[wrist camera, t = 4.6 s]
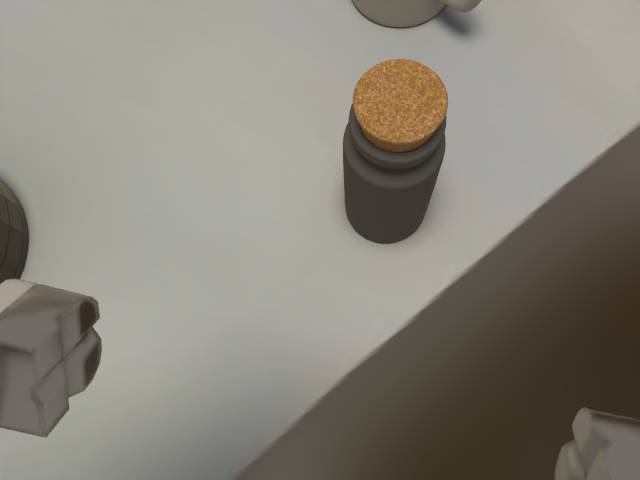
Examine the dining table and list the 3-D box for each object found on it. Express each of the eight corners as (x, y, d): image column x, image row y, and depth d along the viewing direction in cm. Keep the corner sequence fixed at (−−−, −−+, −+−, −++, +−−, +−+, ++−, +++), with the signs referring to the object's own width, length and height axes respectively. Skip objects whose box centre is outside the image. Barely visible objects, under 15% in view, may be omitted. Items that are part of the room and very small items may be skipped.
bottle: (377, 155, 46) (388, 29, 31) (441, 199, 44) (483, 89, 30) (328, 212, 44) (317, 109, 30) (393, 260, 43) (412, 176, 29)
